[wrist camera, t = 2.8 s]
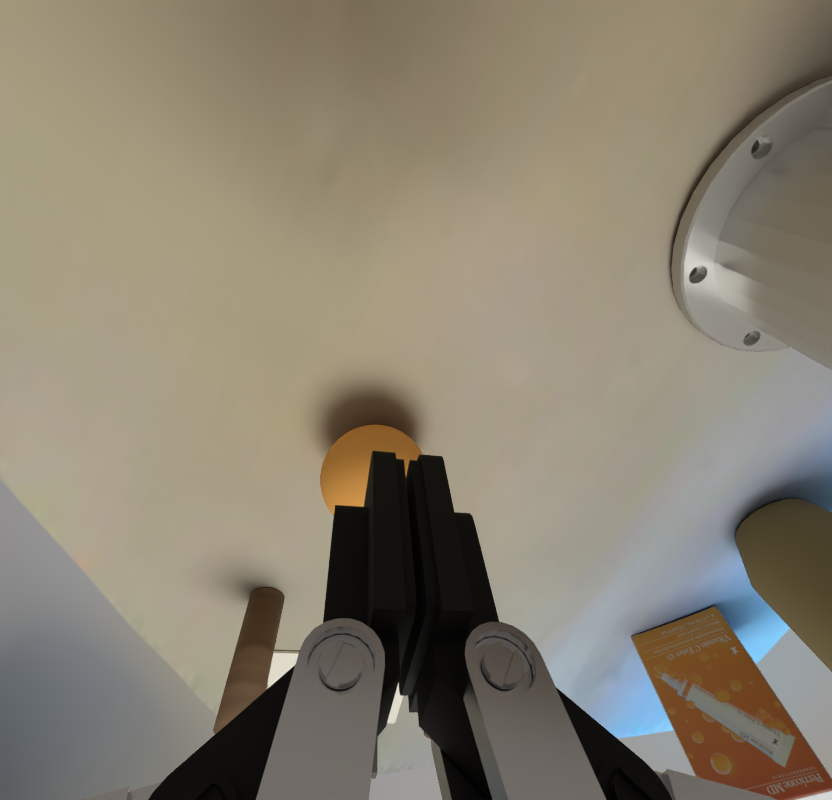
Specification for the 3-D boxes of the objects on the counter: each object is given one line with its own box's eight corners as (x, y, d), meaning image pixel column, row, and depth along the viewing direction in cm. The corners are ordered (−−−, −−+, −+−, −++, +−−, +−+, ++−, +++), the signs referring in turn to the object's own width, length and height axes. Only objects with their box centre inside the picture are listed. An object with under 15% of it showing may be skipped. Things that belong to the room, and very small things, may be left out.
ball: (329, 399, 26) (316, 467, 21) (431, 410, 27) (443, 478, 22) (323, 477, 29) (311, 553, 24) (415, 484, 30) (421, 560, 25)
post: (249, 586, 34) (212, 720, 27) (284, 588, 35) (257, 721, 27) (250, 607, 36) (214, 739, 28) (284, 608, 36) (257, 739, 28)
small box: (714, 602, 40) (843, 789, 29) (730, 634, 43) (851, 814, 32) (627, 635, 42) (716, 822, 31) (648, 663, 45) (735, 842, 34)
